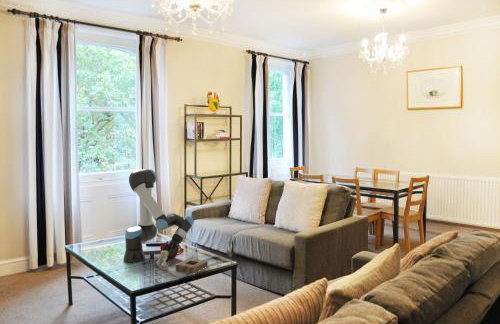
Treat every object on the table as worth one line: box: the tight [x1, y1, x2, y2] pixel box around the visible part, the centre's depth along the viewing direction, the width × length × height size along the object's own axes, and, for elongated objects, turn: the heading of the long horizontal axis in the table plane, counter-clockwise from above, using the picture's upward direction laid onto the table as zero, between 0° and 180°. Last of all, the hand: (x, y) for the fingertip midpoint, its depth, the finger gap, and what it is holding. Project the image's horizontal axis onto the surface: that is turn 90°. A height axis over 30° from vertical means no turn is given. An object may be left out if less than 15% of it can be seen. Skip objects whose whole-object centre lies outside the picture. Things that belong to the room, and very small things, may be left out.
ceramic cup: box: [159, 242, 184, 261], centre depth 307 cm, size 13×17×10 cm
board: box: [175, 257, 209, 274], centre depth 288 cm, size 15×16×4 cm
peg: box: [160, 250, 169, 271], centre depth 287 cm, size 5×5×12 cm
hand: (160, 265), depth 284 cm, fingers closed on peg, 5 cm apart
